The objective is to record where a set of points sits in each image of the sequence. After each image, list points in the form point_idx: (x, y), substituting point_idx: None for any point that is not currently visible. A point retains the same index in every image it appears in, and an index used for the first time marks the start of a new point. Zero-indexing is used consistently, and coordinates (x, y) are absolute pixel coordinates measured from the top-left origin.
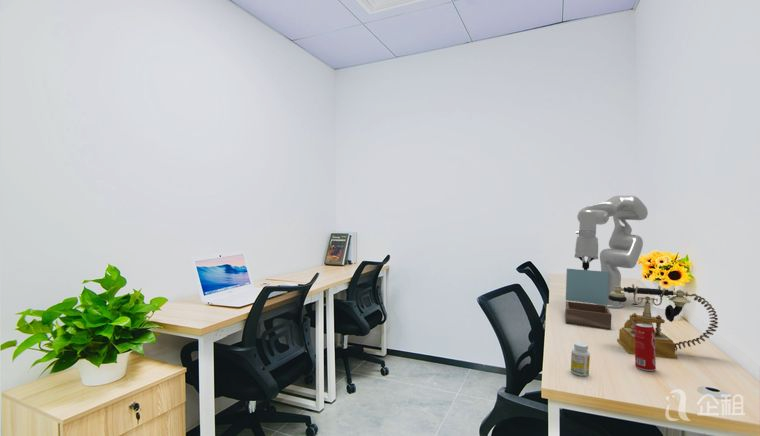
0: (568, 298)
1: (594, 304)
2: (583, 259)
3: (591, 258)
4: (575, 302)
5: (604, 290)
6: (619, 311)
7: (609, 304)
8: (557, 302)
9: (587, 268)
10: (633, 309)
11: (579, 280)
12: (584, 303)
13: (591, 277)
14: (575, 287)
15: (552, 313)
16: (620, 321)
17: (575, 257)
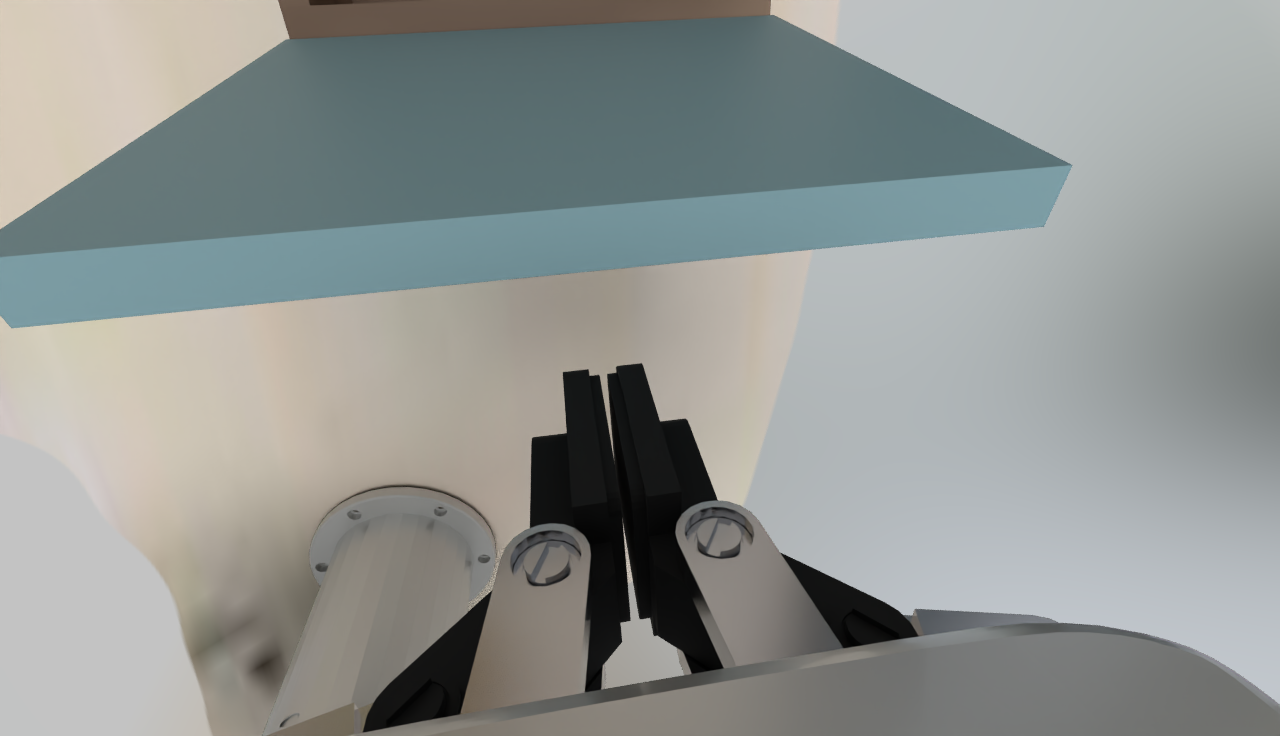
0: (752, 20)
1: (440, 25)
2: (741, 579)
3: (450, 713)
4: (661, 4)
5: (257, 87)
6: (310, 428)
7: (395, 517)
8: (758, 419)
9: (567, 393)
10: (235, 540)
11: (687, 98)
12: (557, 12)
13: (458, 147)
14: (715, 60)
15: (833, 4)
16: (217, 70)
17: (1024, 616)
